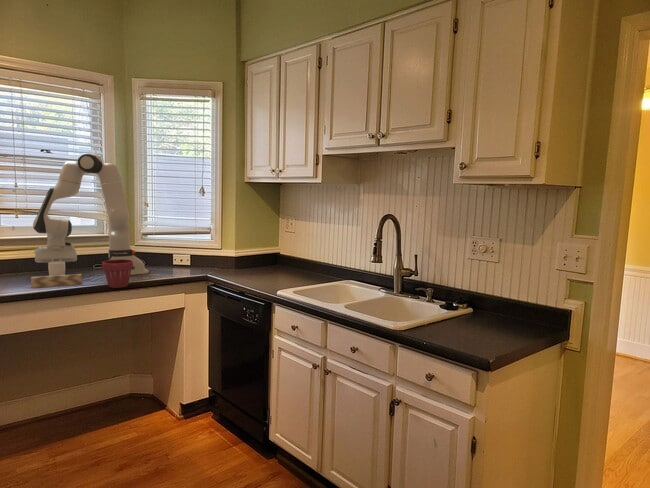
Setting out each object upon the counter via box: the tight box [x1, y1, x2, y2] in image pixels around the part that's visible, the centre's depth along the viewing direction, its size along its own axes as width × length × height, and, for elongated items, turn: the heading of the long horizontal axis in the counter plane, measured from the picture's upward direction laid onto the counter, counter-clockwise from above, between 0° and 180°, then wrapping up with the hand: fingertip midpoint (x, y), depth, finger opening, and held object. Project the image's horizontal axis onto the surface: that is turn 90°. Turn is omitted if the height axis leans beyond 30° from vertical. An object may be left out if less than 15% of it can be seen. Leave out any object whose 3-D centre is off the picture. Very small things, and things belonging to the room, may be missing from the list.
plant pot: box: [101, 259, 133, 289], centre depth 237 cm, size 14×14×13 cm
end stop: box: [30, 273, 83, 289], centre depth 235 cm, size 22×5×5 cm, turn 120°
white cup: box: [47, 261, 66, 276], centre depth 245 cm, size 8×8×10 cm
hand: (56, 267), depth 254 cm, fingers closed
